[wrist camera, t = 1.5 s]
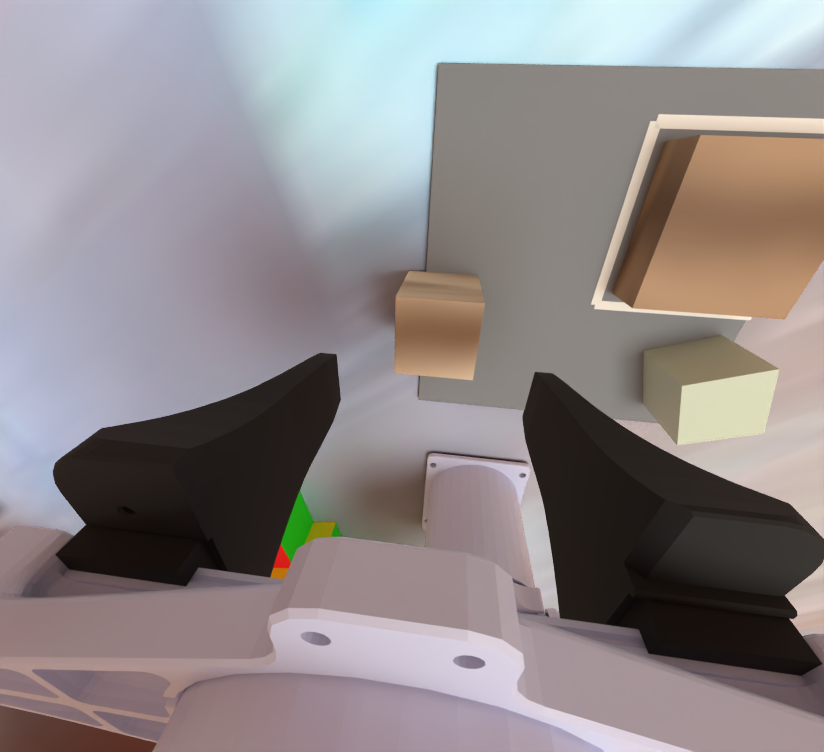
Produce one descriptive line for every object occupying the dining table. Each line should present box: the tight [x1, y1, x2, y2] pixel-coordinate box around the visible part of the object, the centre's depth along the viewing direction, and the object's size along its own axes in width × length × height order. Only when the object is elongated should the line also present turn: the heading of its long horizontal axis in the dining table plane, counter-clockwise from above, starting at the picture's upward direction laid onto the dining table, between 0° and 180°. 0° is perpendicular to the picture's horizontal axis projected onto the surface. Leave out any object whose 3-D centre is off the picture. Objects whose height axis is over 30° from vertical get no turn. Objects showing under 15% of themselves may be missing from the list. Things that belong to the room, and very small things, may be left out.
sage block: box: [643, 335, 779, 445], centre depth 19 cm, size 4×4×4 cm
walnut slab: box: [612, 135, 824, 319], centre depth 15 cm, size 7×7×2 cm
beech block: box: [394, 271, 485, 380], centre depth 18 cm, size 4×4×5 cm
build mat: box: [419, 63, 824, 423], centre depth 19 cm, size 18×18×1 cm
